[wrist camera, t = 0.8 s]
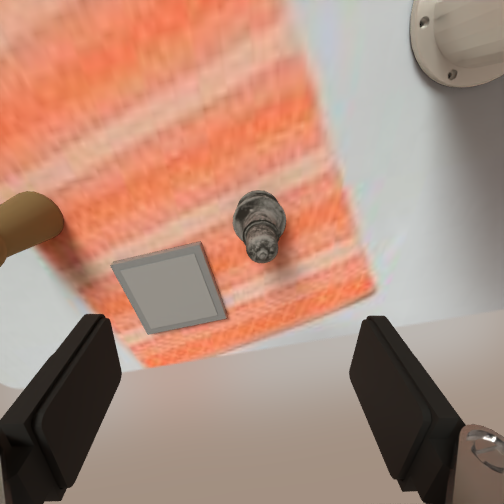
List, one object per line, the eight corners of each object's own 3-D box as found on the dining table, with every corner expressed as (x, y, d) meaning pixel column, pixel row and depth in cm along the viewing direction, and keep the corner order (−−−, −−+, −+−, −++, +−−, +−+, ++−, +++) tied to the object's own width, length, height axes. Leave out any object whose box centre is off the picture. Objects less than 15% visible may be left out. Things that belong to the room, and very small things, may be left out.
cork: (46, 247, 36) (-29, 299, 26) (0, 213, 34) (-100, 256, 24) (73, 218, 34) (4, 262, 24) (27, 180, 32) (-70, 211, 22)
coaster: (200, 241, 36) (199, 245, 35) (227, 313, 41) (226, 319, 40) (113, 261, 37) (109, 266, 36) (149, 329, 42) (147, 335, 41)
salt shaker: (282, 233, 36) (297, 286, 25) (235, 235, 36) (230, 289, 25) (283, 186, 33) (300, 224, 22) (232, 188, 33) (225, 226, 22)
